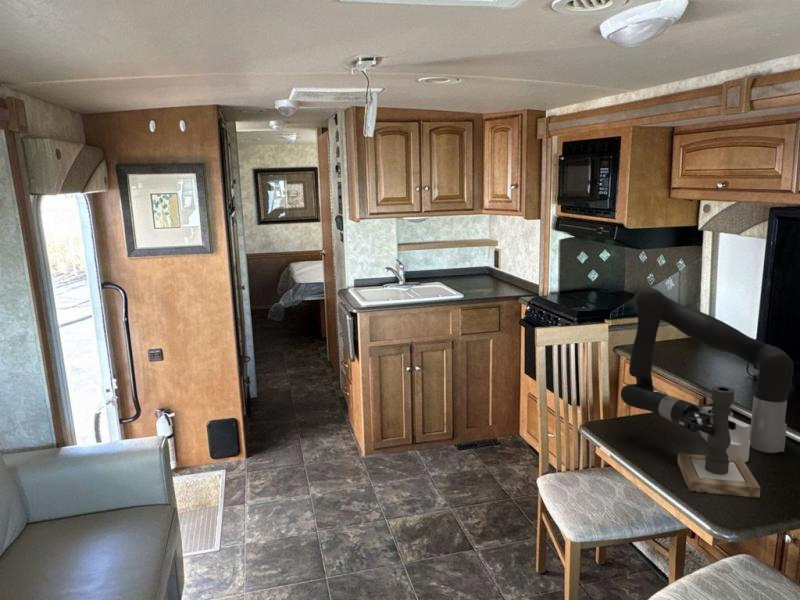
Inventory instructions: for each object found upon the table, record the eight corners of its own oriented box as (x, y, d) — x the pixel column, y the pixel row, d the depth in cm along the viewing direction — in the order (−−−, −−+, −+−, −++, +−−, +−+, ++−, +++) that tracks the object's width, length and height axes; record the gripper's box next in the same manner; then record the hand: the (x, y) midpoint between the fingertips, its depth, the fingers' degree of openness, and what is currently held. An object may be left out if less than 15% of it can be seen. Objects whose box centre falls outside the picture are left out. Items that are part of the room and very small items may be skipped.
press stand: (740, 467, 186) (741, 458, 185) (759, 497, 169) (760, 487, 168) (677, 462, 190) (678, 453, 190) (689, 491, 173) (690, 481, 173)
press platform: (732, 469, 184) (733, 462, 183) (744, 489, 173) (745, 481, 172) (689, 466, 187) (690, 458, 186) (698, 485, 175) (699, 477, 175)
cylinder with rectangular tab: (709, 452, 196) (712, 418, 194) (731, 448, 199) (734, 413, 196) (733, 465, 188) (736, 428, 185) (755, 460, 191) (758, 424, 188)
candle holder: (701, 469, 179) (708, 389, 174) (708, 462, 184) (715, 384, 178) (724, 476, 175) (731, 394, 170) (731, 469, 179) (738, 388, 174)
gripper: (662, 403, 186) (709, 422, 171) (694, 395, 192) (742, 412, 177) (661, 426, 187) (707, 447, 173) (693, 417, 193) (740, 436, 179)
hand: (725, 429), depth 175 cm, fingers open, 8 cm apart
